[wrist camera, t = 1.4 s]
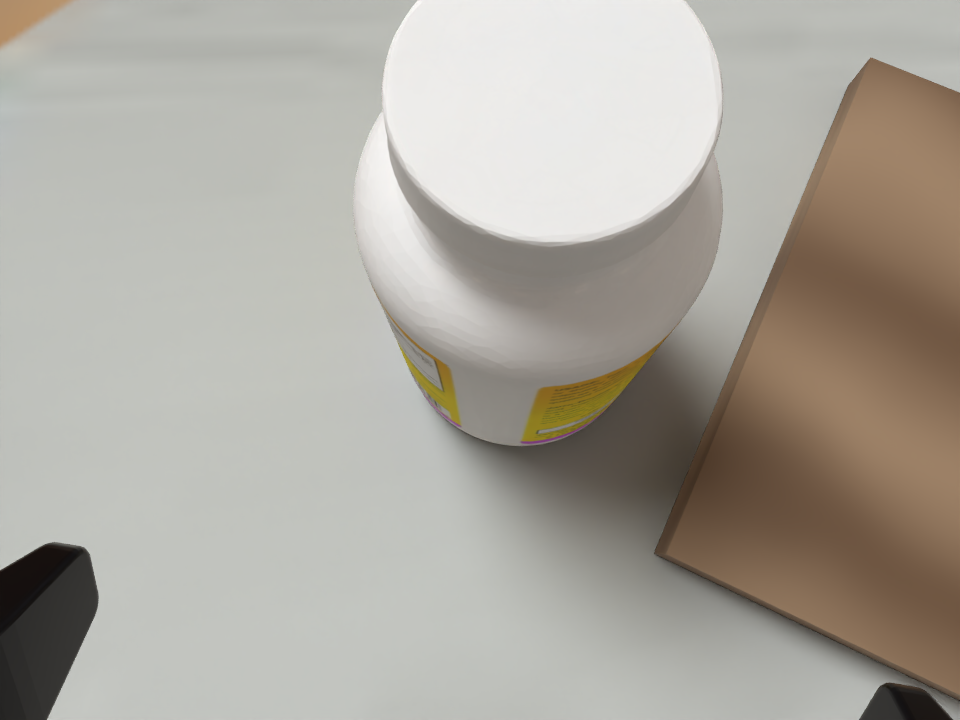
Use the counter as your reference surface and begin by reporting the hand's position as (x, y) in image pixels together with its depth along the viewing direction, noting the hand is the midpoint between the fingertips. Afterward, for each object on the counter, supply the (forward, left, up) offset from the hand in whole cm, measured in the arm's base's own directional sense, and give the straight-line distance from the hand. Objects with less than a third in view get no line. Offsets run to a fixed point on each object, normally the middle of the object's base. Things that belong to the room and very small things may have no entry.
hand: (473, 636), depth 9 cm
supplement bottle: (+7, +2, -13) cm, 15 cm away
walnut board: (+11, -9, -13) cm, 19 cm away
